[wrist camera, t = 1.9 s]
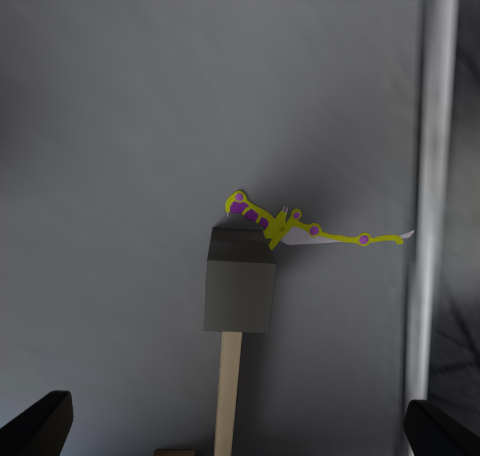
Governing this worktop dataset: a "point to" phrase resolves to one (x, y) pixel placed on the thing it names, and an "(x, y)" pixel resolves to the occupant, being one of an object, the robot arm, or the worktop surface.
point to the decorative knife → (295, 226)
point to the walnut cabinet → (174, 453)
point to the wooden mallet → (236, 310)
